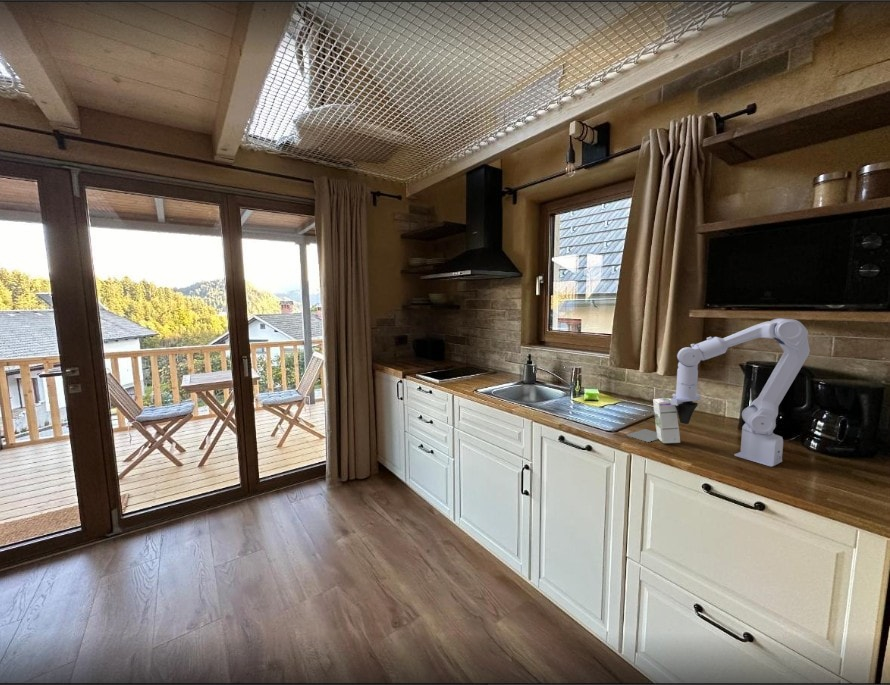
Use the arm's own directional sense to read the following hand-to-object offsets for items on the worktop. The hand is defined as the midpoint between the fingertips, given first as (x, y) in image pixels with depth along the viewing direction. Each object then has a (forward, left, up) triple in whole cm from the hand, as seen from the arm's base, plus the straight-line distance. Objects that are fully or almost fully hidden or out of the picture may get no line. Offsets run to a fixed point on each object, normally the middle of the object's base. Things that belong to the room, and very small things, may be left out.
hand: (684, 423), depth 121 cm
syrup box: (+5, 0, -8) cm, 9 cm away
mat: (+13, 0, -8) cm, 15 cm away
